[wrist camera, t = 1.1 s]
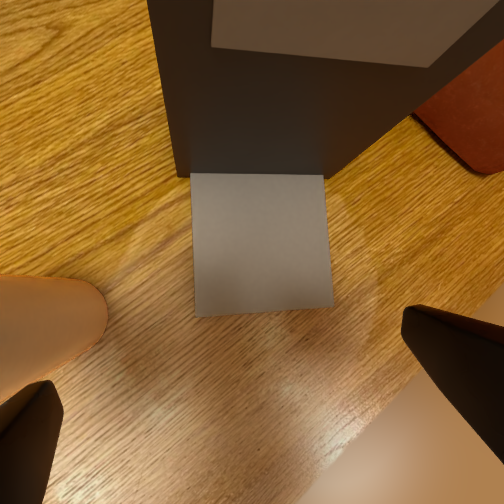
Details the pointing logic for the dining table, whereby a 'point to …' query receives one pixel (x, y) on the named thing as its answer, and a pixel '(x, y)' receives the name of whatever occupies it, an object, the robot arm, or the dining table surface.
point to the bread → (472, 113)
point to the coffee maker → (292, 122)
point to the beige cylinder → (45, 326)
